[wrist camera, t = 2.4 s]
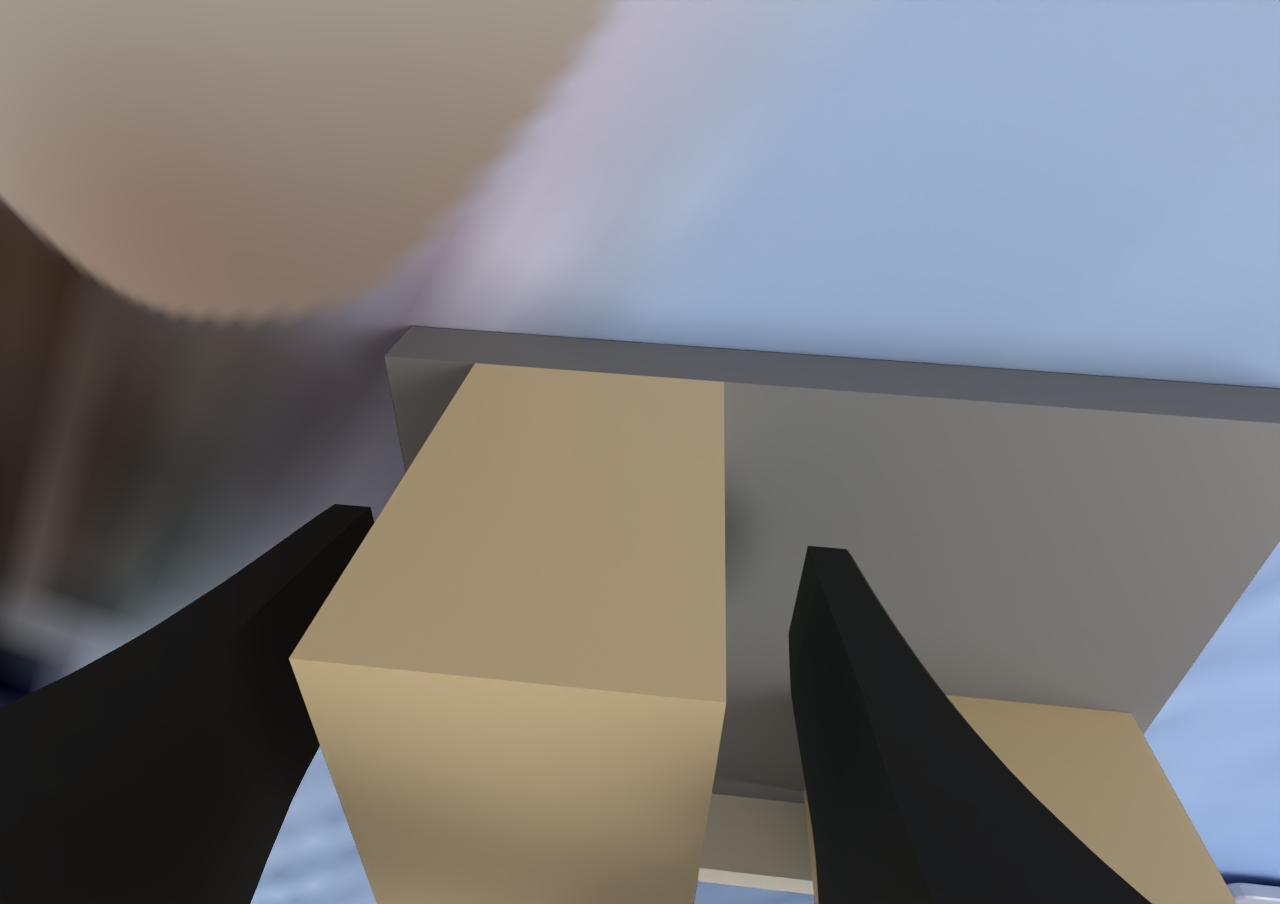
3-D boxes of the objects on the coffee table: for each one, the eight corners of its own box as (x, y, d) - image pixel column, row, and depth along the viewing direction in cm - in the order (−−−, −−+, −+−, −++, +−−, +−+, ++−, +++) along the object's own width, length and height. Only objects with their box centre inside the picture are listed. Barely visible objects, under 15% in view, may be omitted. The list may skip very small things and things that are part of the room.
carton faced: (803, 791, 17) (836, 1124, 12) (834, 683, 15) (890, 1036, 10) (1059, 819, 17) (1201, 1173, 12) (1131, 713, 15) (1342, 1094, 10)
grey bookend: (1046, 798, 18) (1097, 927, 16) (475, 738, 19) (438, 851, 17) (1304, 390, 12) (1461, 503, 9) (410, 326, 13) (335, 412, 10)
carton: (695, 641, 15) (682, 983, 10) (502, 622, 15) (392, 947, 10) (725, 382, 11) (728, 703, 6) (474, 363, 12) (288, 658, 7)
